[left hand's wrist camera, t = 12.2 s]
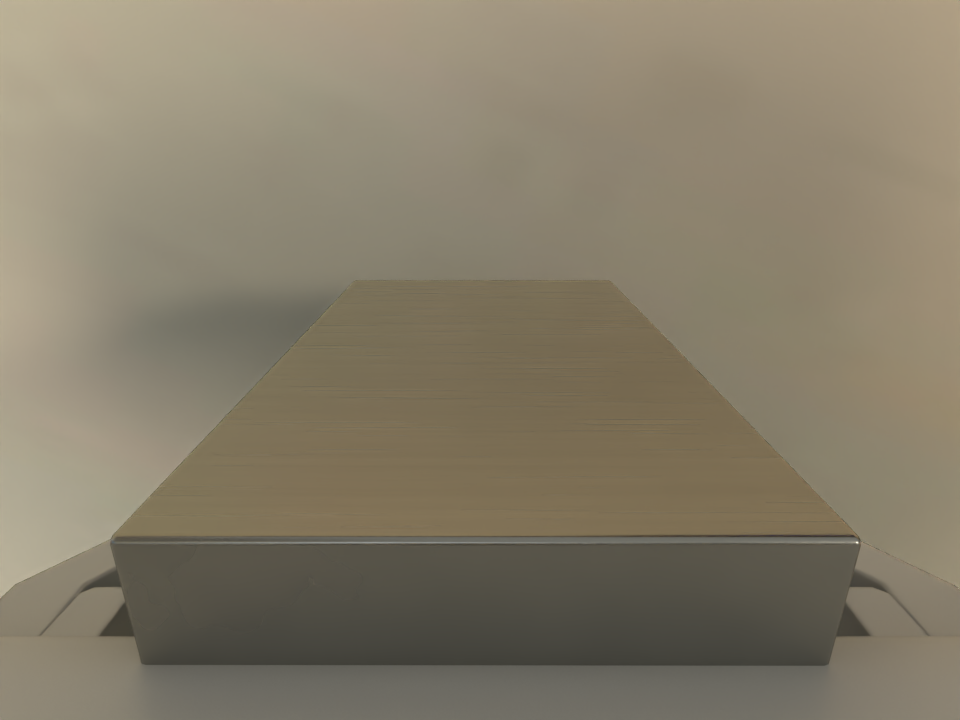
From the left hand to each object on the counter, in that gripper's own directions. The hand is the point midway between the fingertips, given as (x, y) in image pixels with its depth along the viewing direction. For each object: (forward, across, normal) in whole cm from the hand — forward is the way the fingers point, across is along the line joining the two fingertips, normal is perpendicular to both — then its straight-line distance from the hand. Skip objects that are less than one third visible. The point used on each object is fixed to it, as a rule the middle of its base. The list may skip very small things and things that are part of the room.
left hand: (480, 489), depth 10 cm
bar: (+3, 0, +9) cm, 9 cm away
